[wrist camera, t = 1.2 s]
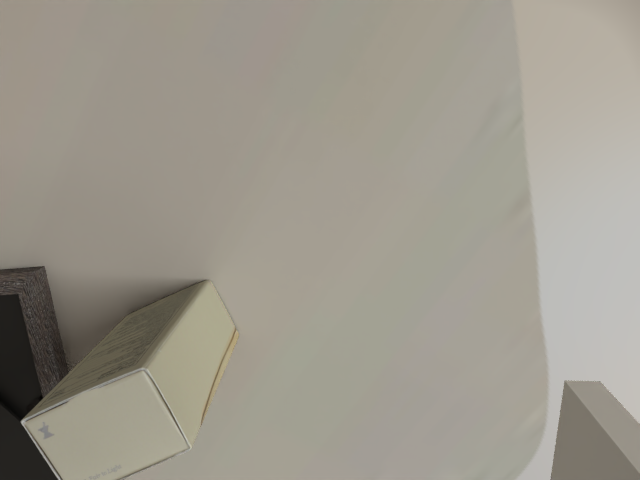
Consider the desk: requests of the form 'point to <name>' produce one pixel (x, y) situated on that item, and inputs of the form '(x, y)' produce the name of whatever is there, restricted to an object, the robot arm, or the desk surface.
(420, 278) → the desk surface
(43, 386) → the picture frame
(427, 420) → the desk surface
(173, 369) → the skincare box
